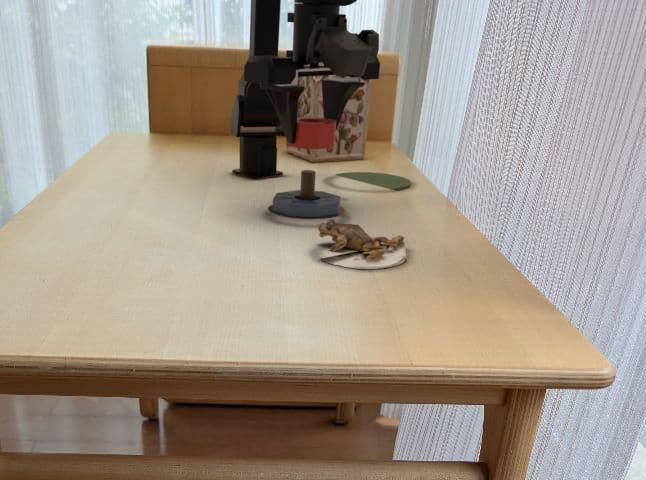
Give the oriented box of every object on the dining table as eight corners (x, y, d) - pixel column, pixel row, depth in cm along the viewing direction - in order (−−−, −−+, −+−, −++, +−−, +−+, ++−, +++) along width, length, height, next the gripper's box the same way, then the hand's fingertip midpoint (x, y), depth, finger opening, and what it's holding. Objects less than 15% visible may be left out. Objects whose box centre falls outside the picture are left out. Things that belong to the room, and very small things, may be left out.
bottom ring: (261, 206, 116) (261, 195, 115) (311, 199, 121) (311, 187, 120) (301, 220, 110) (302, 207, 109) (352, 211, 115) (353, 199, 114)
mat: (309, 179, 138) (309, 177, 137) (370, 171, 145) (370, 169, 144) (365, 195, 128) (366, 192, 128) (428, 185, 135) (428, 183, 135)
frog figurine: (307, 266, 96) (309, 232, 94) (319, 239, 106) (320, 208, 103) (405, 272, 94) (409, 238, 92) (408, 245, 104) (411, 214, 102)
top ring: (277, 143, 111) (278, 119, 110) (313, 139, 115) (314, 115, 113) (307, 150, 107) (308, 125, 105) (343, 146, 110) (345, 121, 109)
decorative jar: (311, 163, 150) (316, 49, 140) (283, 152, 159) (287, 44, 149) (367, 159, 154) (376, 48, 144) (337, 149, 163) (344, 44, 153)
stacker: (252, 213, 117) (252, 168, 113) (311, 204, 122) (313, 161, 119) (300, 230, 110) (302, 182, 106) (361, 219, 115) (364, 174, 112)
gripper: (299, 6, 92) (293, 157, 101) (416, 6, 101) (401, 144, 110) (241, 2, 99) (241, 143, 108) (356, 3, 108) (346, 133, 117)
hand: (310, 141), depth 111 cm, fingers closed on top ring, 6 cm apart
